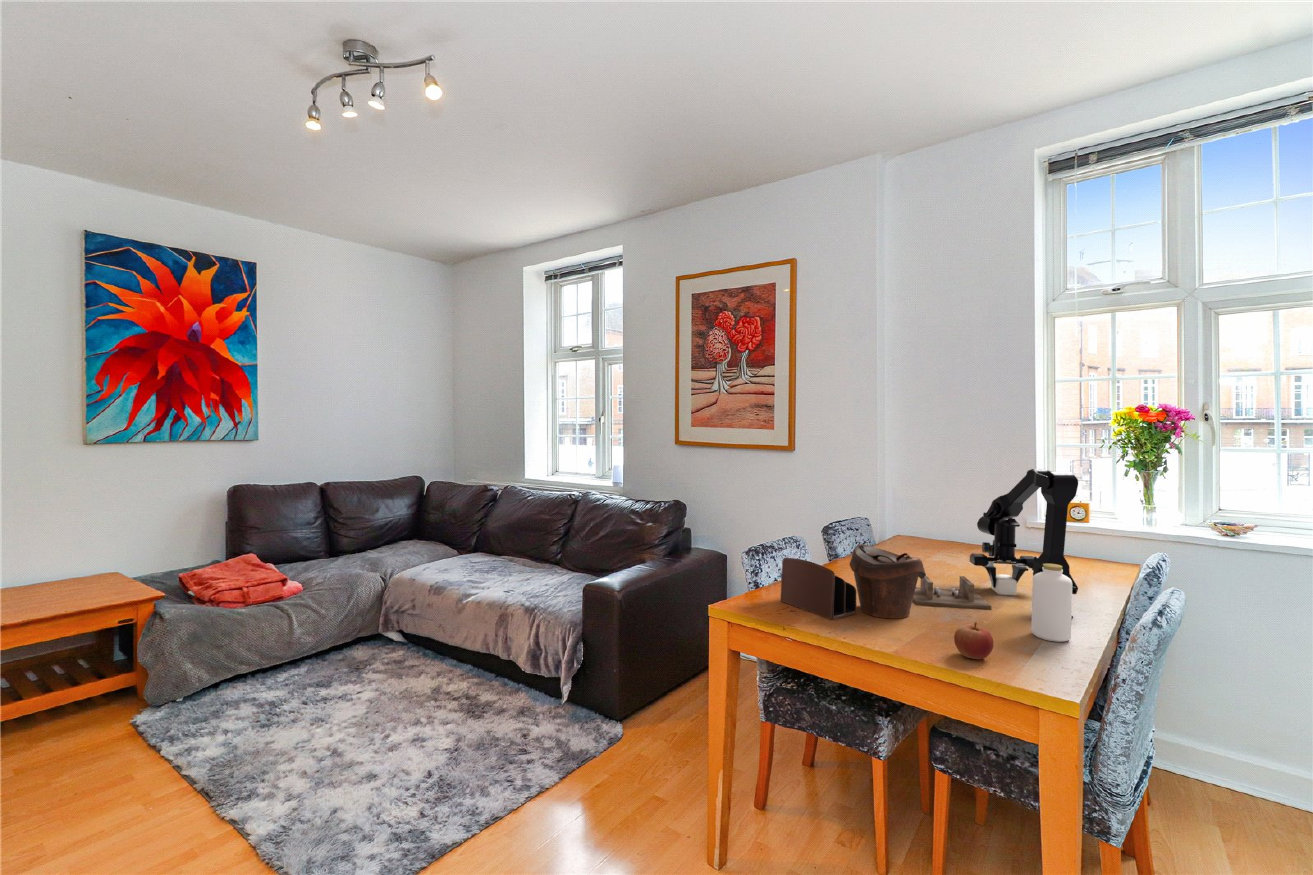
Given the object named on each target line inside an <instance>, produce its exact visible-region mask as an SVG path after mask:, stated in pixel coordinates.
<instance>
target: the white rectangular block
mask: <svg viewBox="0 0 1313 875" xmlns="http://www.w3.org/2000/svg"><path fill="white" fill-rule="evenodd" d="M1017 585H1018V583H1017V581H1016V580H1015V579H1013V578H1012V576H1011V575H1009V574H1000V573H999V574H997V573H996V587H995V588H994V587H993V586H992V583H991V582H990V589H992V590H993V591H994V592H996V594H997V595H1006V596H1017V589H1018V588H1017V587H1018V586H1017Z"/></svg>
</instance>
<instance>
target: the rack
mask: <svg viewBox="0 0 1313 875" xmlns="http://www.w3.org/2000/svg"><path fill="white" fill-rule="evenodd" d="M912 601H913V602H914V604H916V606H917V605H918V606H928V607H929V606H931V607H948V608H964V609H979V610H992V605H991V604H990V603H989V602H988V601H986V600H985V599H984V598H983V597H982V596H981V595H980V594H979V593H978V592H976V591H975V584H974V583H973V582H972V581H970V580H969V579H968V578H967V577H966V576H964V575H959V589H957V588H955V587H951V588H940V587H938V586H934V581H933V580H931V579H930V578H929V577H928V575H926V576H925V577H924V578H923V579H920V587H919V586H918V587H917V586H916V588H915V592H914V596H913V600H912Z"/></svg>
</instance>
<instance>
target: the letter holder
mask: <svg viewBox="0 0 1313 875" xmlns="http://www.w3.org/2000/svg"><path fill="white" fill-rule="evenodd" d="M781 567H782V568H781V582H780V602H781V603H784V604H787V605H790V606H792V607H795V608H798V609H800V610H802V611H806V612H808V613H811V614H814V615H817V616H819V617H821V618H825V619H828V620H831V621H835V620H838V619H842V618H847V617H850V616H855V615H857V587H855V586H854V585H852V584H851V583H849V582H847V581H845V579H843V578H842V577H839V576H837V575H835V572H834V571H833V570H832V569H830V568H827V567H826V566H823V565H820V564H818V563H815V562H812V561H809V560H806V559H801V558H795V557H794V558H793V557H784V558H782V562H781Z"/></svg>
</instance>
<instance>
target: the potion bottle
mask: <svg viewBox="0 0 1313 875" xmlns="http://www.w3.org/2000/svg"><path fill="white" fill-rule="evenodd" d="M1042 569H1043V572H1040V573H1037V574H1035V575H1034V576H1033V575H1032V588H1031V589H1032V591H1031V592H1032V594H1031V596H1032V597H1031V598H1032V599H1031V633H1032V635H1034V636H1035V637H1036V638H1039V639H1041V640H1045V641H1048V642H1054V643H1055V642H1056V643H1060V642H1061V643H1062V642H1067V641H1069V640H1070V639H1071V638H1072V618H1071V616H1073V615H1072V613H1073V610H1072V609H1073V606H1072V604H1073V594H1072V580H1071V579H1070V578H1068V577H1067V576H1065V575H1063V574H1062V572H1063V570H1062V566H1061V565H1057V564H1043V567H1042Z"/></svg>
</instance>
